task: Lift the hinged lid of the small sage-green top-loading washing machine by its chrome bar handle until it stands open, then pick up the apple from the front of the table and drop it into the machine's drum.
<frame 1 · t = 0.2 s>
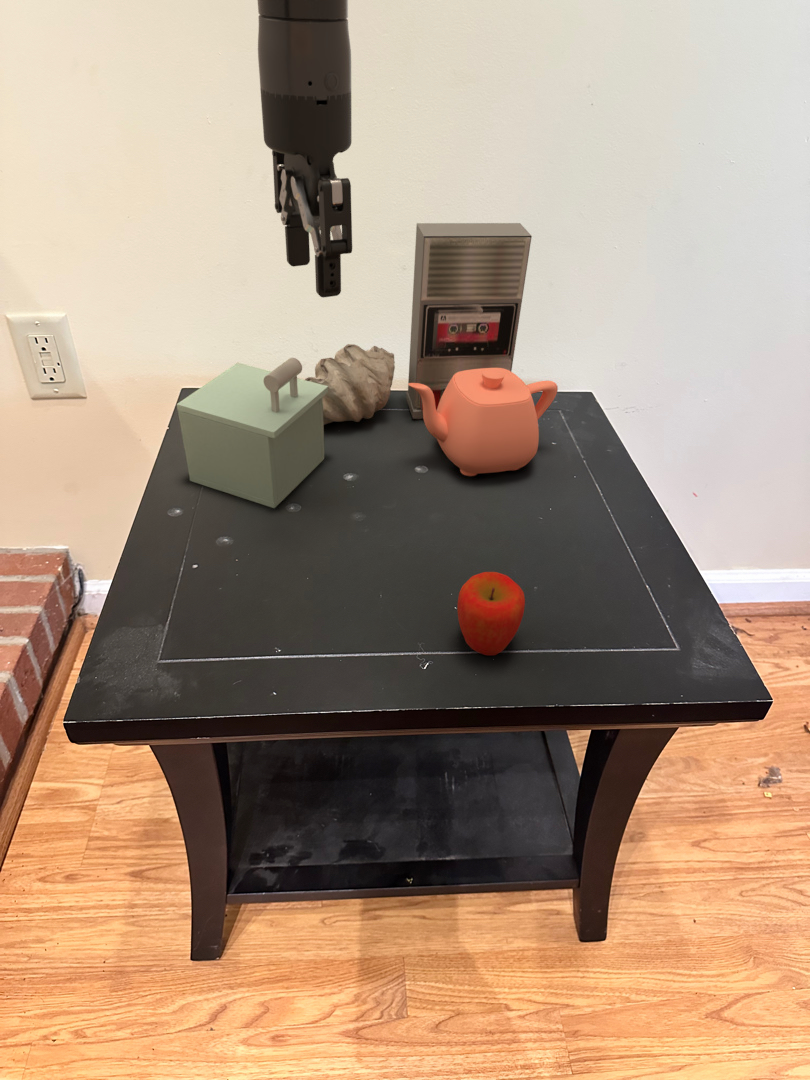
hand: (313, 279, 71), 27 cm above the table, tool pointing down, fingers open, 8 cm apart
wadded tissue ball: (346, 417, 103), on the table
cassette tape recorder: (456, 409, 106), on the table
apple: (484, 644, 71), on the table
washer: (259, 469, 92), on the table
teapot: (476, 457, 97), on the table
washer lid: (253, 380, 84), point 13 cm above the table, hinge at 0.0°
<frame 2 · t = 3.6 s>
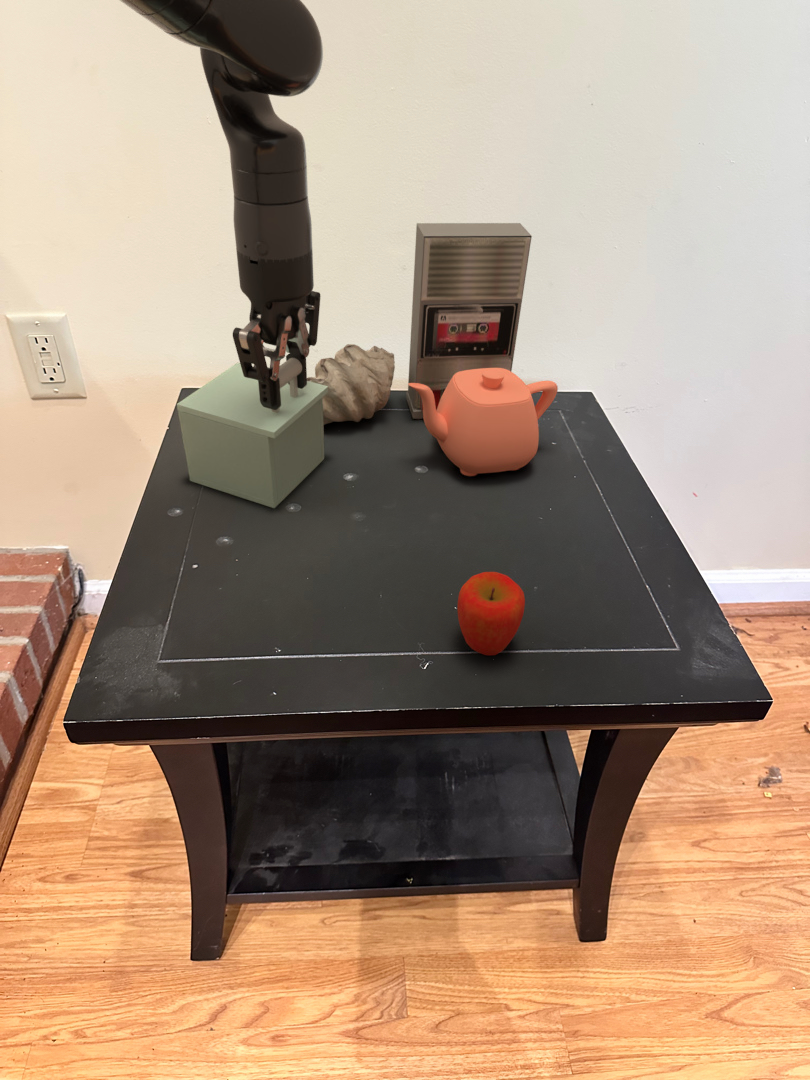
hand: (284, 395, 83), 12 cm above the table, tool pointing down, fingers closed on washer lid, 5 cm apart
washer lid: (253, 380, 84), point 13 cm above the table, hinge at -0.1°, touching gripper
everything else where it was.
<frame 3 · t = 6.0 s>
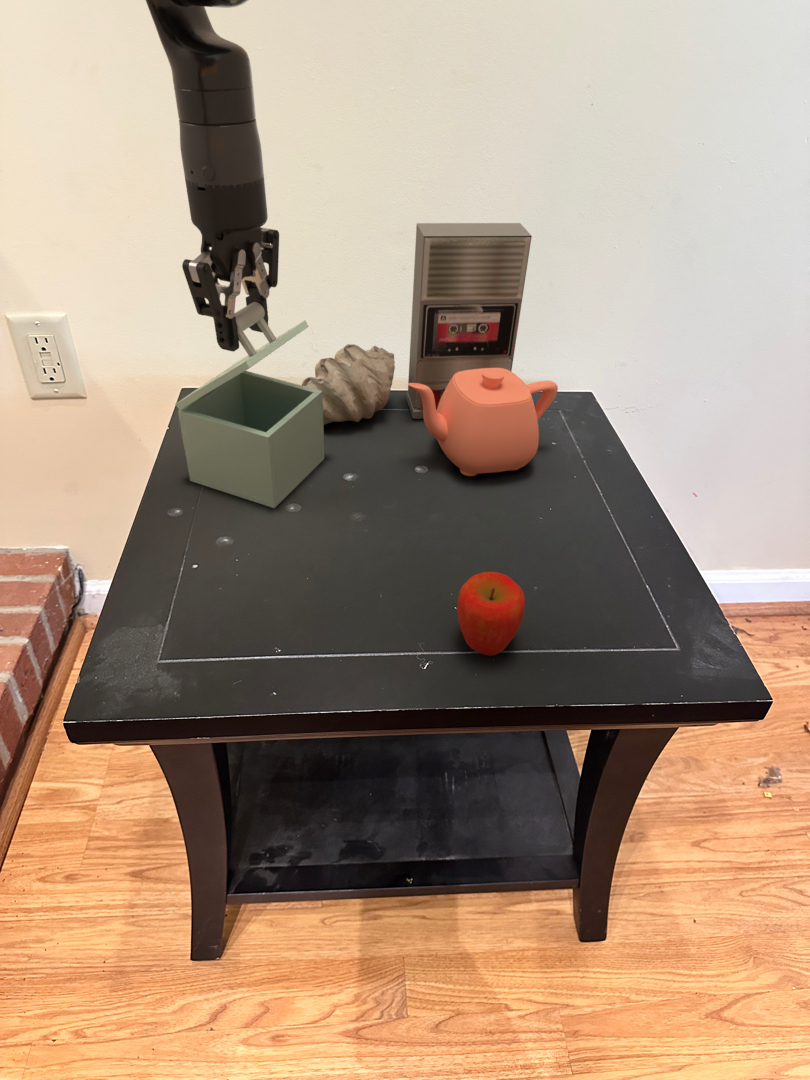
hand: (244, 338, 81), 17 cm above the table, tool pointing down, fingers closed on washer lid, 5 cm apart
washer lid: (230, 347, 82), point 16 cm above the table, hinge at 36.8°, touching gripper
everything else where it was.
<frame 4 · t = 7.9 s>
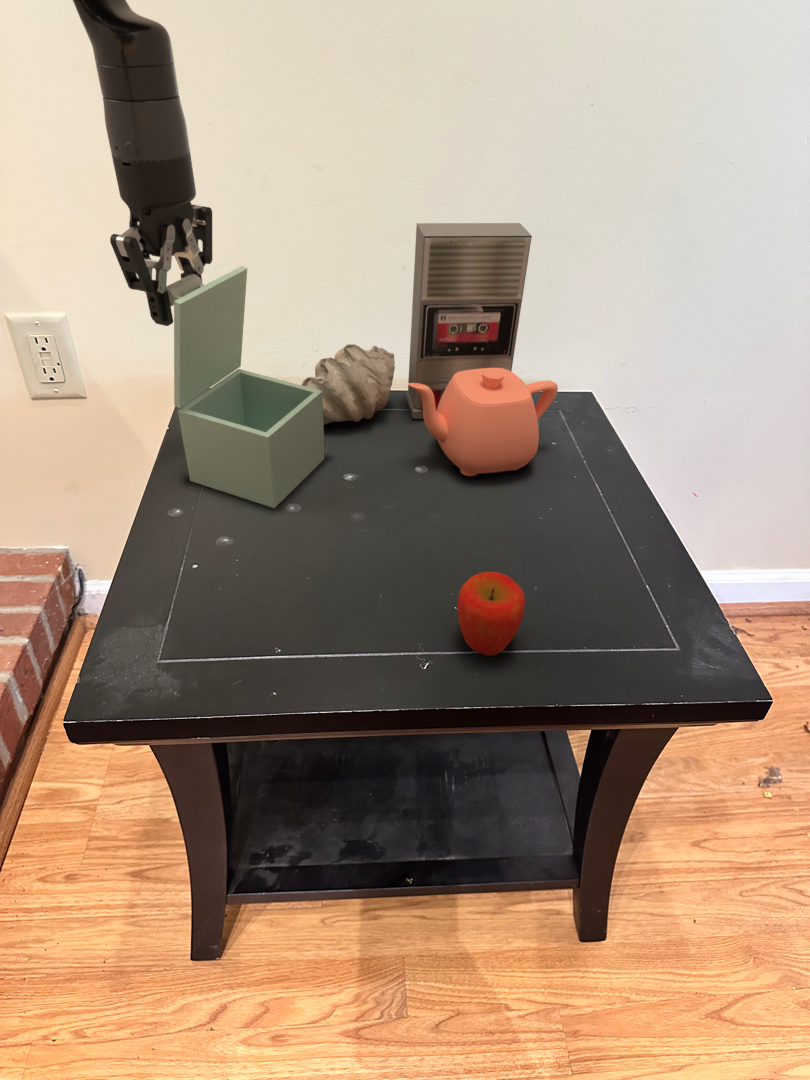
hand: (179, 314, 83), 18 cm above the table, tool pointing down, fingers closed on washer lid, 5 cm apart
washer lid: (193, 329, 83), point 17 cm above the table, hinge at 79.3°, touching gripper
everything else where it was.
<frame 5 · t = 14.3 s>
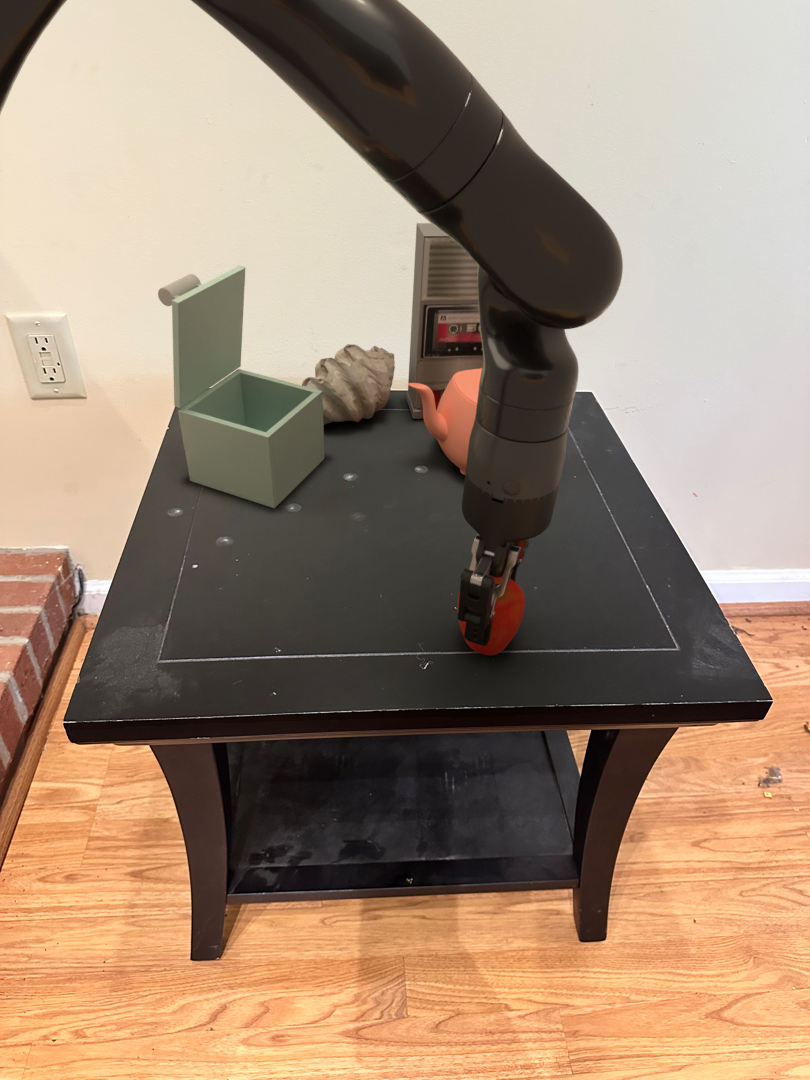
hand: (488, 616, 68), 4 cm above the table, tool pointing down, fingers closed on apple, 6 cm apart
apple: (484, 644, 71), on the table, touching gripper
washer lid: (192, 329, 83), point 17 cm above the table, hinge at 80.4°
everything else where it was.
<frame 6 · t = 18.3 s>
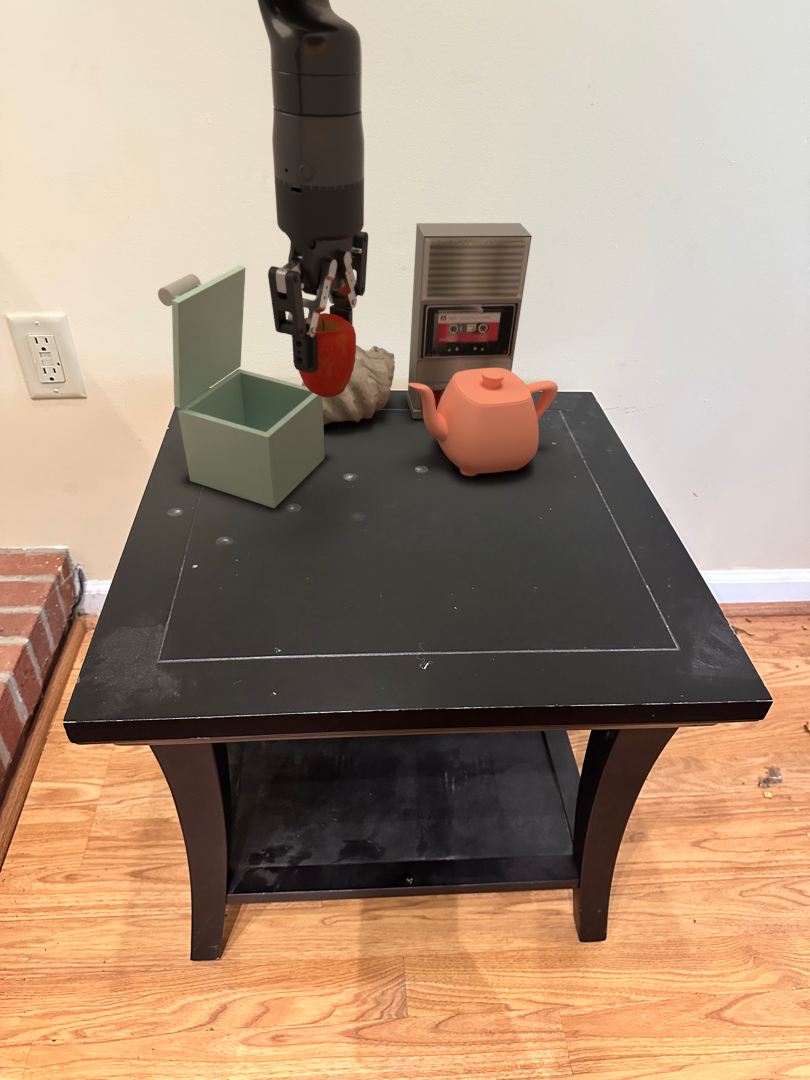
hand: (324, 356, 71), 21 cm above the table, tool pointing down, fingers closed on apple, 6 cm apart
apple: (325, 391, 74), point 17 cm above the table, touching gripper
everything else where it was.
when the fingers open (11 cm above the table, at t = 22.3 s): apple drops 7 cm, resting on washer.
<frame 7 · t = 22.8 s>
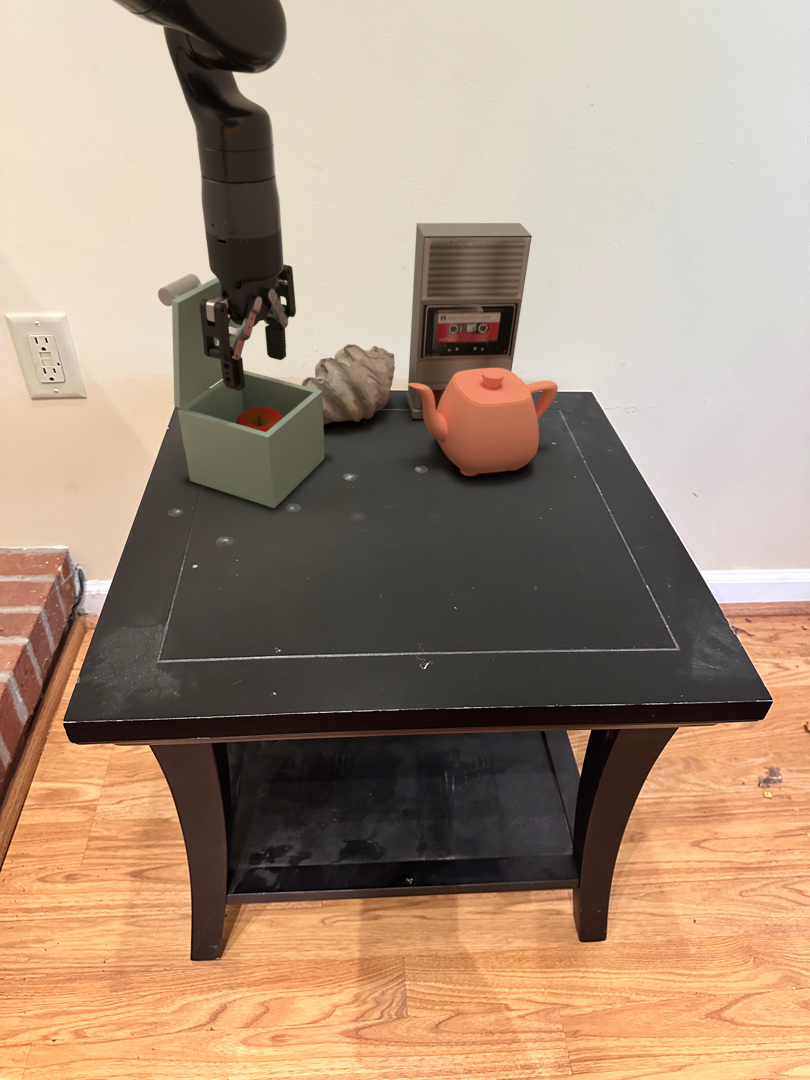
hand: (256, 372, 83), 14 cm above the table, tool pointing down, fingers open, 8 cm apart
apple: (264, 466, 91), point 1 cm above the table, touching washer
everything else where it was.
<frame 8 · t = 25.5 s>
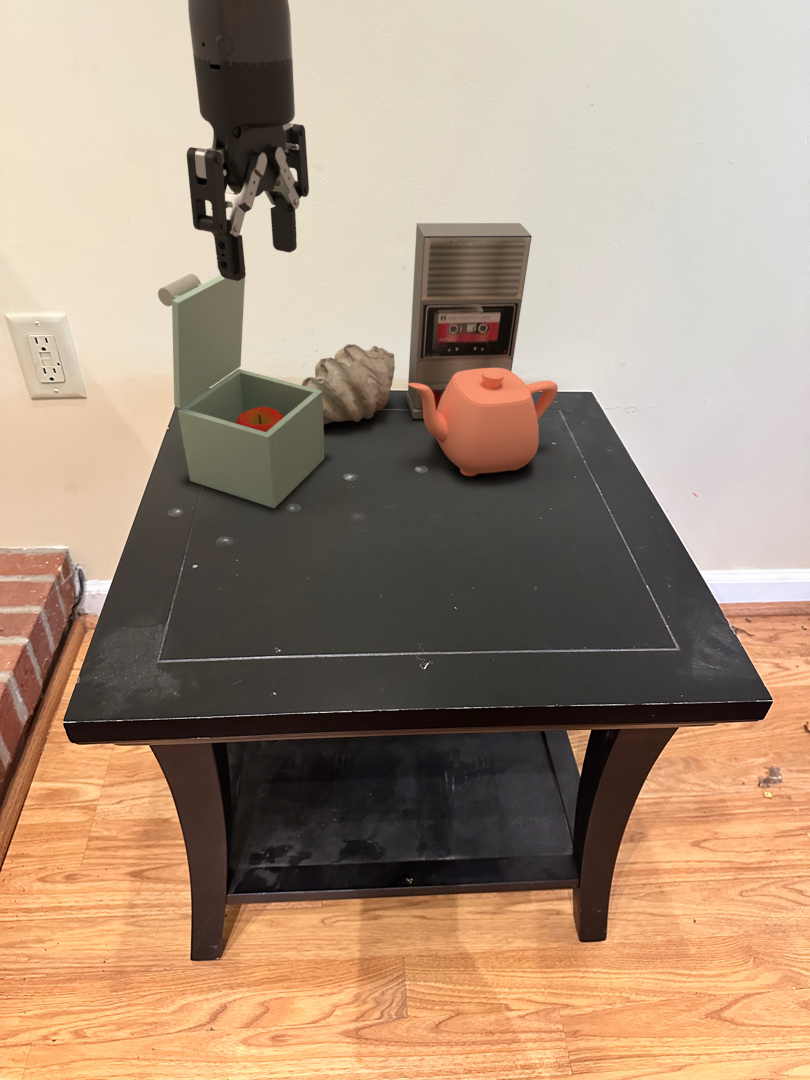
hand: (260, 263, 66), 29 cm above the table, tool pointing down, fingers open, 8 cm apart
nothing on the table moved.
at the end: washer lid at +80° (first picture: +0°); apple inside the target area in the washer (0.9 cm from its centre), point 0.6 cm above the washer's base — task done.
